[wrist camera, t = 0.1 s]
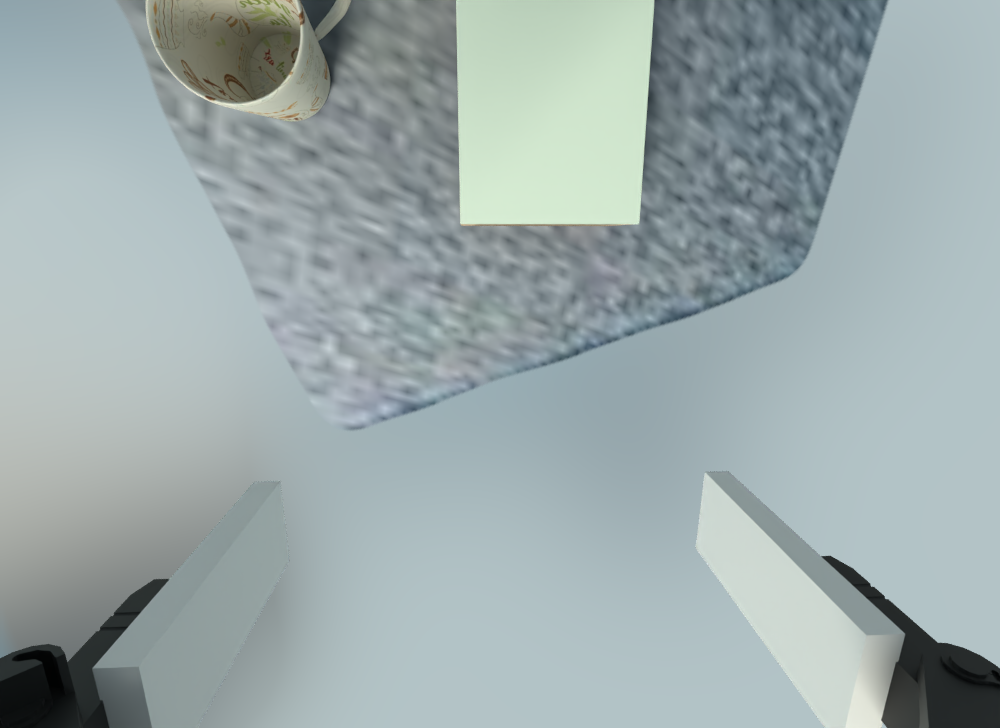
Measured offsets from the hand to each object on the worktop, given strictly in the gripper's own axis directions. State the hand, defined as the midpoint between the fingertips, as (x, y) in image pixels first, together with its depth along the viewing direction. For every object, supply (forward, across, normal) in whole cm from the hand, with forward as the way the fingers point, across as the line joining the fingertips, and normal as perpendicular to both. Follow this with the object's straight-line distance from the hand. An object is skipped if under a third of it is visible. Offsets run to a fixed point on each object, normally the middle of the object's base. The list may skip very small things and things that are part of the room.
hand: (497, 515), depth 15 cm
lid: (+21, +5, +19) cm, 29 cm away
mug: (+28, -12, +21) cm, 37 cm away
